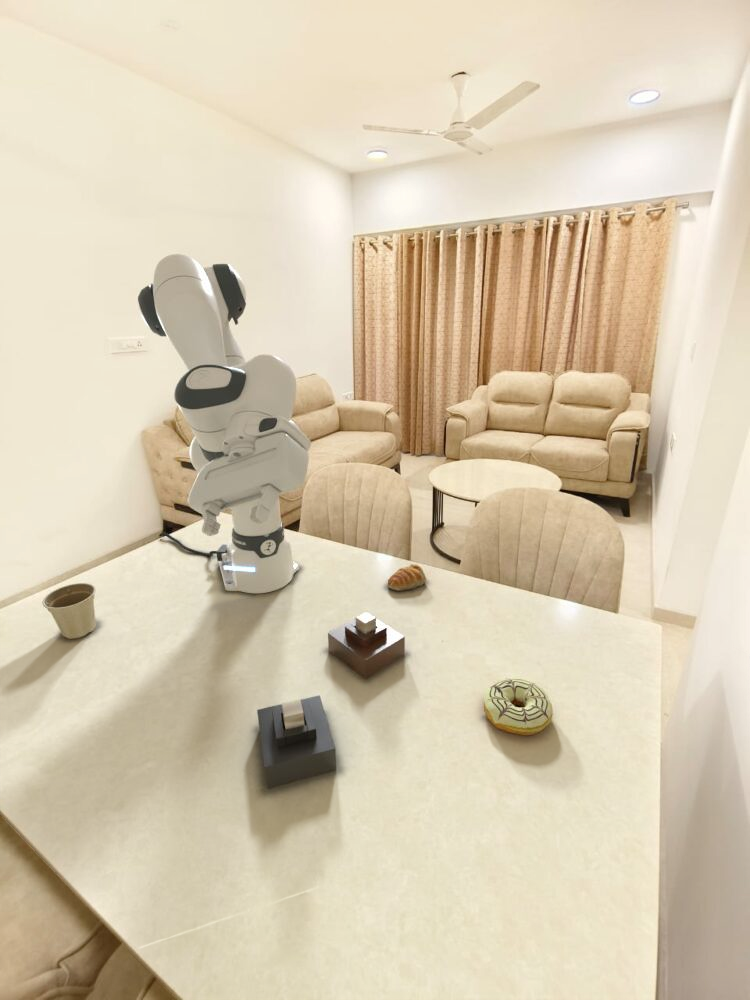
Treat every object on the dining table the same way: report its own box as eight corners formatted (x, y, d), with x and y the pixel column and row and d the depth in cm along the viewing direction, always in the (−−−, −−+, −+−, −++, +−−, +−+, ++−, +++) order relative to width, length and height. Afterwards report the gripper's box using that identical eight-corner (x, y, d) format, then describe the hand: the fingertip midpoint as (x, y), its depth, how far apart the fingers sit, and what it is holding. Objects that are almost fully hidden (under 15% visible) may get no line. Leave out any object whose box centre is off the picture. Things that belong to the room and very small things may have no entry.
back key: (355, 628, 95) (355, 617, 94) (366, 622, 97) (366, 611, 96) (365, 635, 93) (364, 623, 92) (376, 628, 95) (376, 617, 94)
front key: (282, 716, 75) (281, 703, 74) (301, 712, 76) (300, 699, 75) (285, 730, 73) (284, 717, 72) (304, 726, 73) (303, 712, 72)
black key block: (259, 729, 80) (255, 700, 78) (321, 715, 83) (319, 686, 80) (267, 789, 70) (263, 757, 68) (336, 770, 73) (334, 739, 71)
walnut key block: (328, 650, 98) (327, 625, 96) (366, 629, 104) (366, 604, 102) (365, 679, 90) (365, 652, 88) (404, 654, 96) (404, 628, 94)
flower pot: (58, 650, 99) (47, 614, 95) (48, 629, 105) (38, 594, 102) (109, 631, 104) (100, 595, 101) (97, 612, 111) (88, 578, 108)
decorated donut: (477, 691, 87) (478, 674, 86) (539, 691, 87) (541, 673, 86) (490, 740, 77) (491, 721, 76) (559, 739, 77) (562, 720, 76)
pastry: (399, 596, 115) (399, 582, 114) (380, 585, 120) (380, 571, 119) (428, 583, 121) (428, 569, 119) (409, 572, 126) (409, 559, 124)
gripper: (192, 452, 78) (165, 531, 71) (291, 413, 67) (271, 501, 60) (222, 472, 82) (199, 549, 75) (320, 439, 72) (304, 524, 65)
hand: (232, 527), depth 68 cm, fingers open, 8 cm apart
